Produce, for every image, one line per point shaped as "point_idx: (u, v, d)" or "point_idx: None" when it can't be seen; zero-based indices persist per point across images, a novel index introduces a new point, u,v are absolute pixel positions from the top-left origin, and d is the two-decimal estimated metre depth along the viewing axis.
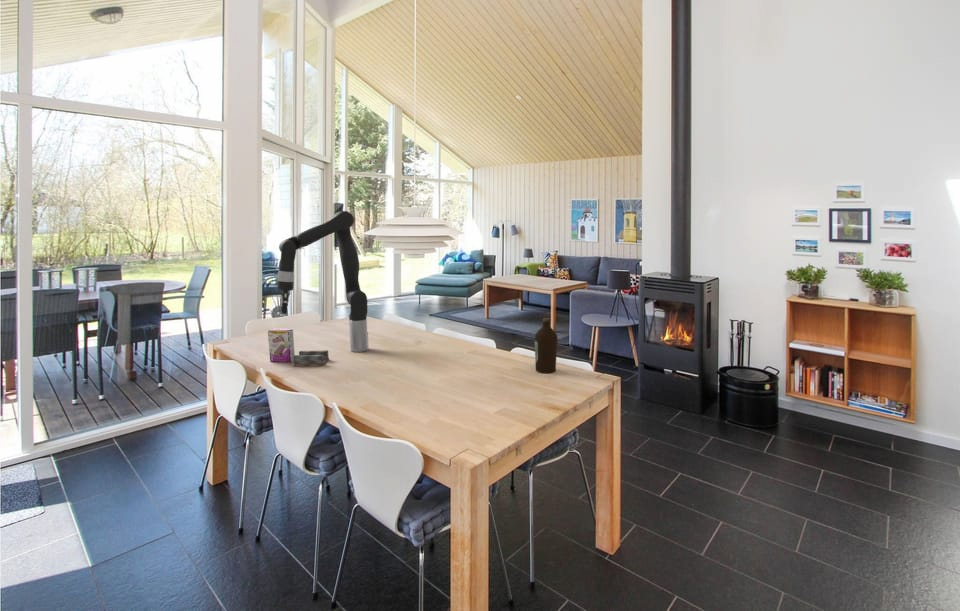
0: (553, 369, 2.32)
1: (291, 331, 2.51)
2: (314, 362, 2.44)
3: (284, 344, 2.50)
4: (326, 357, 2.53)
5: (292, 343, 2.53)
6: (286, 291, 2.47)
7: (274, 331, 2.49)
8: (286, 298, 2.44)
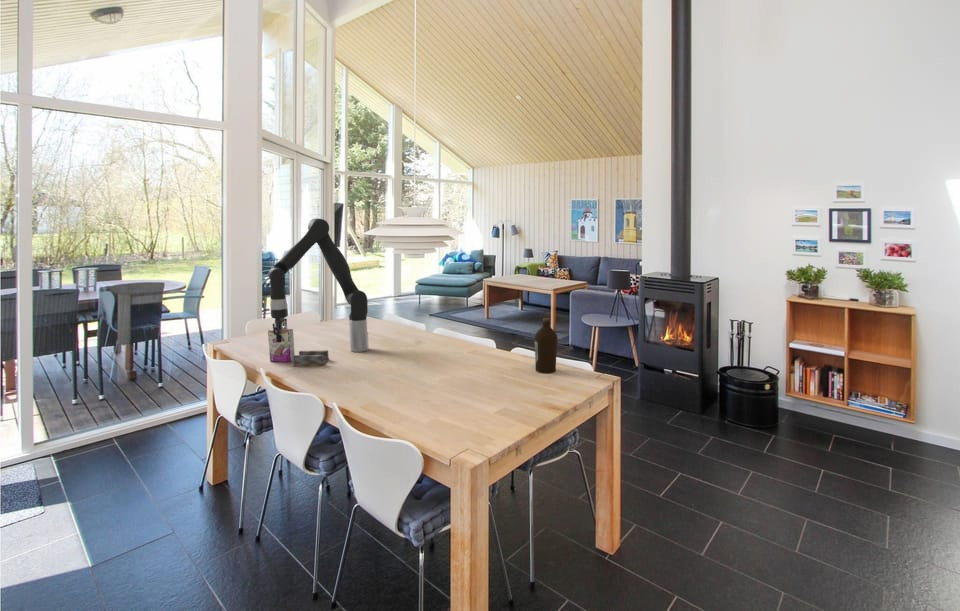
0: (553, 369, 2.32)
1: (291, 331, 2.51)
2: (314, 362, 2.44)
3: (284, 344, 2.50)
4: (326, 357, 2.53)
5: (292, 343, 2.53)
6: (277, 319, 2.47)
7: None
8: (276, 328, 2.45)
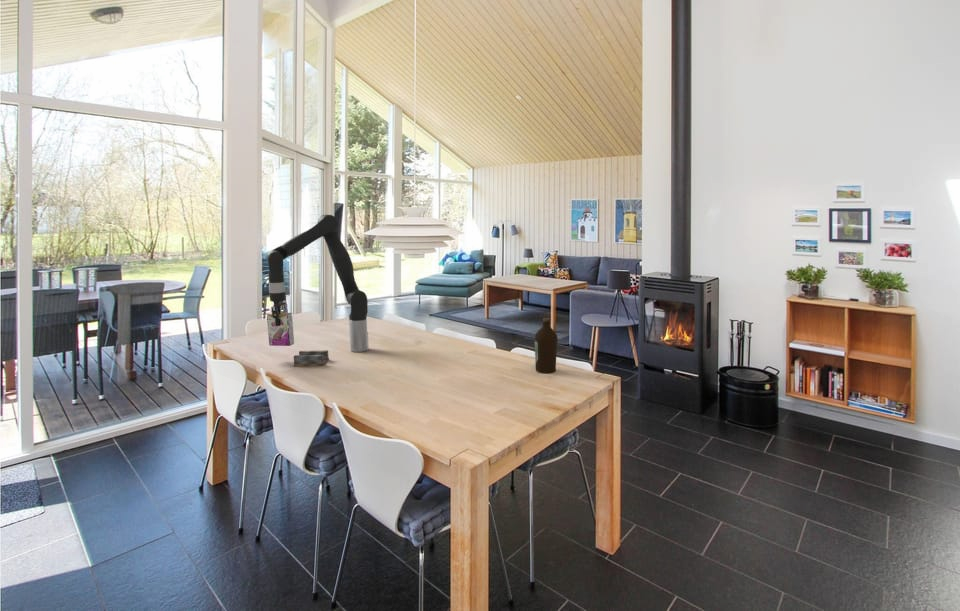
0: (553, 369, 2.32)
1: (290, 315, 2.50)
2: (314, 362, 2.44)
3: (283, 327, 2.48)
4: (326, 357, 2.53)
5: (291, 327, 2.51)
6: (276, 302, 2.45)
7: None
8: (275, 311, 2.43)
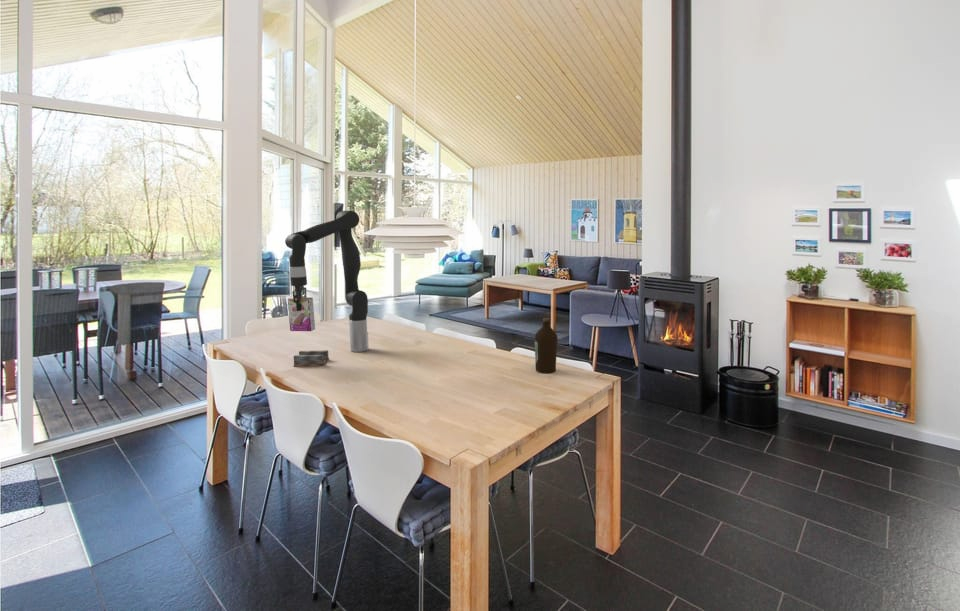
0: (553, 369, 2.32)
1: (311, 299, 2.46)
2: (314, 362, 2.44)
3: (304, 312, 2.44)
4: (326, 357, 2.53)
5: (312, 312, 2.47)
6: (297, 287, 2.41)
7: None
8: (296, 296, 2.39)
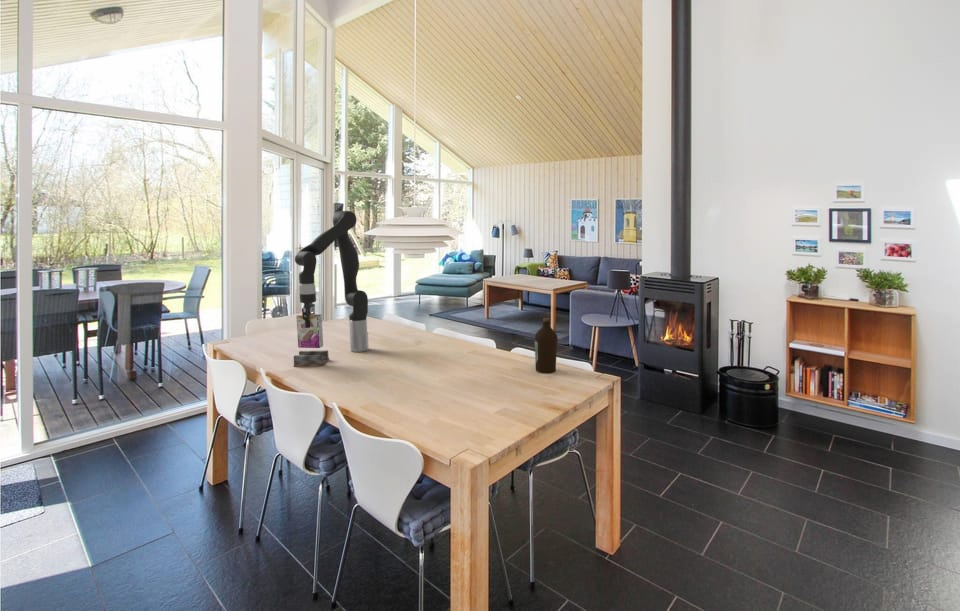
0: (553, 369, 2.32)
1: (320, 316, 2.46)
2: (314, 362, 2.44)
3: (312, 329, 2.44)
4: (326, 357, 2.53)
5: (321, 329, 2.47)
6: (306, 304, 2.41)
7: None
8: (305, 313, 2.39)
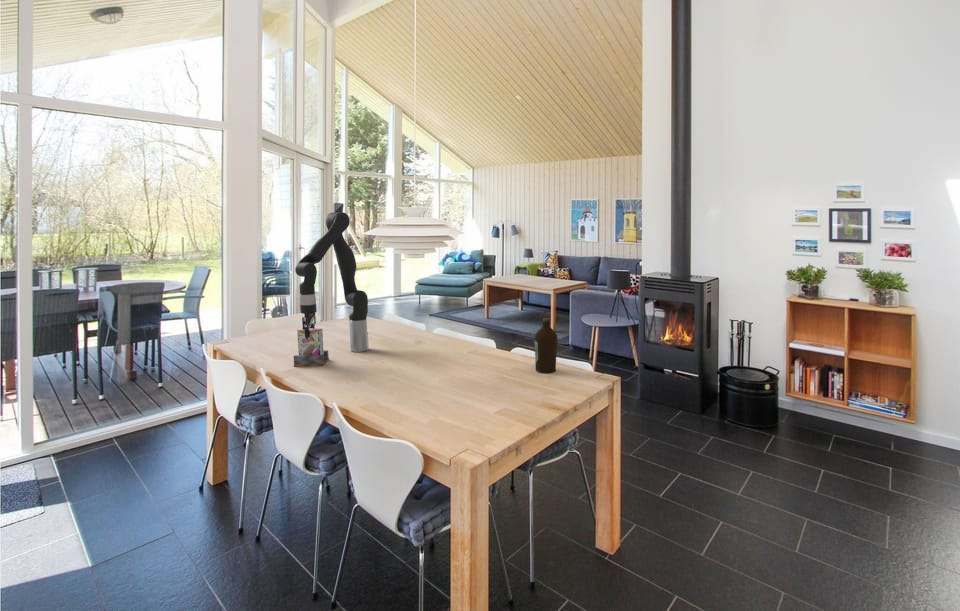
0: (553, 369, 2.32)
1: (321, 331, 2.47)
2: (314, 362, 2.44)
3: (313, 344, 2.45)
4: (326, 357, 2.53)
5: (322, 343, 2.48)
6: (307, 314, 2.42)
7: (304, 331, 2.44)
8: (305, 322, 2.39)
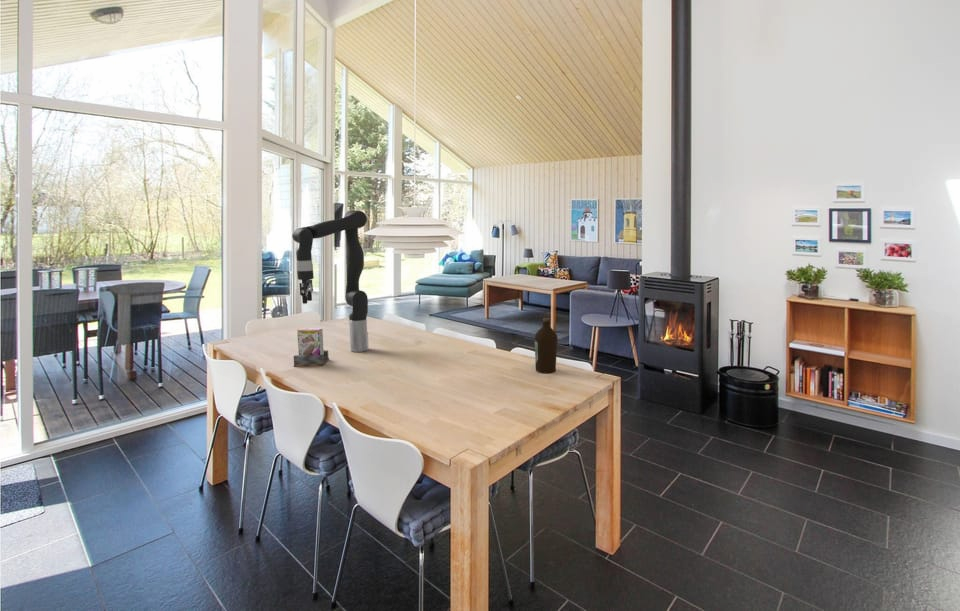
0: (553, 369, 2.32)
1: (321, 331, 2.47)
2: (314, 362, 2.44)
3: (313, 344, 2.45)
4: (326, 357, 2.53)
5: (322, 343, 2.48)
6: (304, 280, 2.43)
7: (304, 331, 2.44)
8: (303, 288, 2.40)
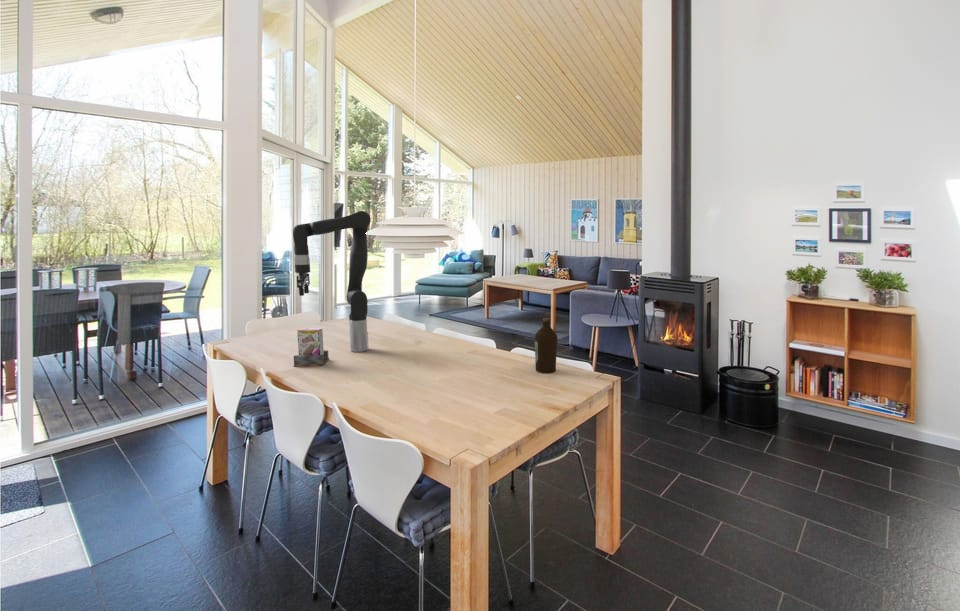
0: (553, 369, 2.32)
1: (321, 331, 2.47)
2: (314, 362, 2.44)
3: (313, 344, 2.45)
4: (326, 357, 2.53)
5: (322, 343, 2.48)
6: (301, 274, 2.56)
7: (304, 331, 2.44)
8: (300, 280, 2.54)
